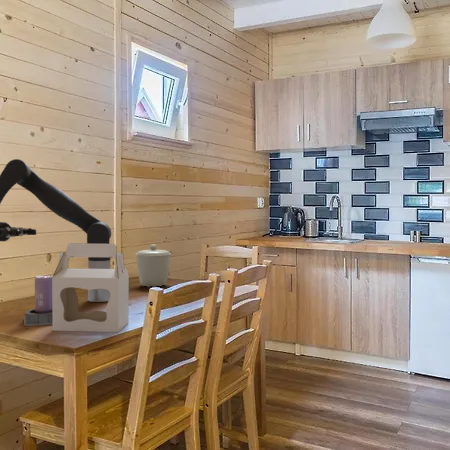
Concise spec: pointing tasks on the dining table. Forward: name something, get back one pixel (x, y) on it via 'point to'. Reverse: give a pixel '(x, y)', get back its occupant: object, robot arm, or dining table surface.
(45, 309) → the beverage can
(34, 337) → the dining table surface
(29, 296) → the dining table surface
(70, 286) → the gable box
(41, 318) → the ring collar
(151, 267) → the canister
